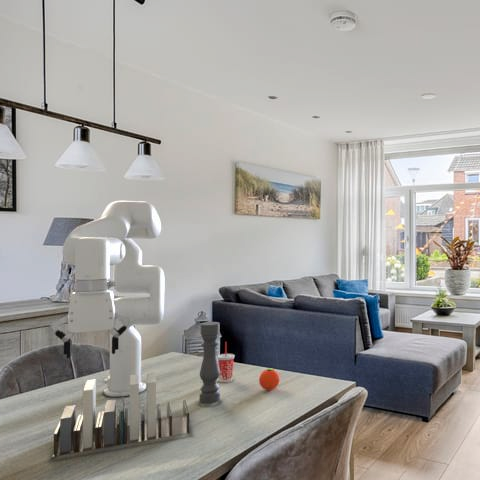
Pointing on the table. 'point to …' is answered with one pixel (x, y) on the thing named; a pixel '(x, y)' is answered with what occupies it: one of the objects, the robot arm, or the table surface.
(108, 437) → the grey book
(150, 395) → the white book
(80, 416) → the book rack
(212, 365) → the candle holder
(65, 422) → the grey book
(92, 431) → the white book
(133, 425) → the white book
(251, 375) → the table surface
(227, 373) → the beverage cup
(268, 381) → the clementine
